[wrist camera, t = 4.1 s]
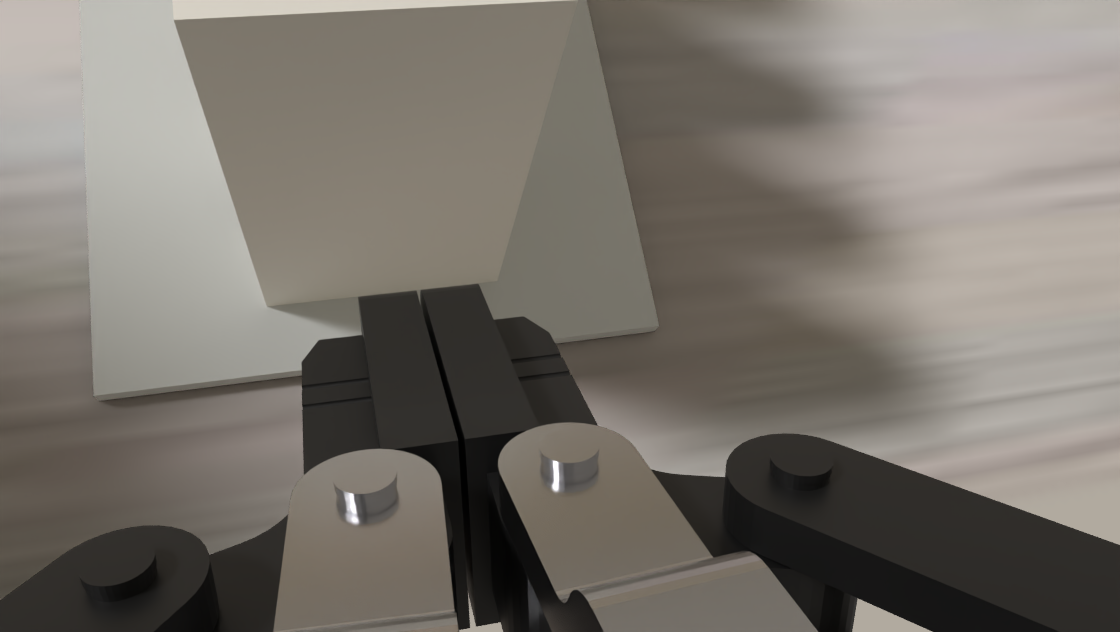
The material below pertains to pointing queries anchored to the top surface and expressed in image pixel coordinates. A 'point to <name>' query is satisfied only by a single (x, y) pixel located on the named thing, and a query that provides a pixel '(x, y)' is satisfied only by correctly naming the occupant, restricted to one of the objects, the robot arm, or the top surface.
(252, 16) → the domino
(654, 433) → the top surface
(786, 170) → the top surface
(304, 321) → the mat
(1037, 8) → the top surface
